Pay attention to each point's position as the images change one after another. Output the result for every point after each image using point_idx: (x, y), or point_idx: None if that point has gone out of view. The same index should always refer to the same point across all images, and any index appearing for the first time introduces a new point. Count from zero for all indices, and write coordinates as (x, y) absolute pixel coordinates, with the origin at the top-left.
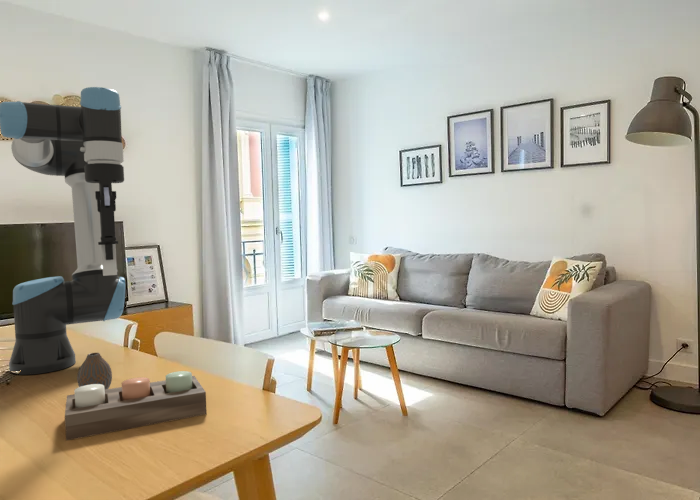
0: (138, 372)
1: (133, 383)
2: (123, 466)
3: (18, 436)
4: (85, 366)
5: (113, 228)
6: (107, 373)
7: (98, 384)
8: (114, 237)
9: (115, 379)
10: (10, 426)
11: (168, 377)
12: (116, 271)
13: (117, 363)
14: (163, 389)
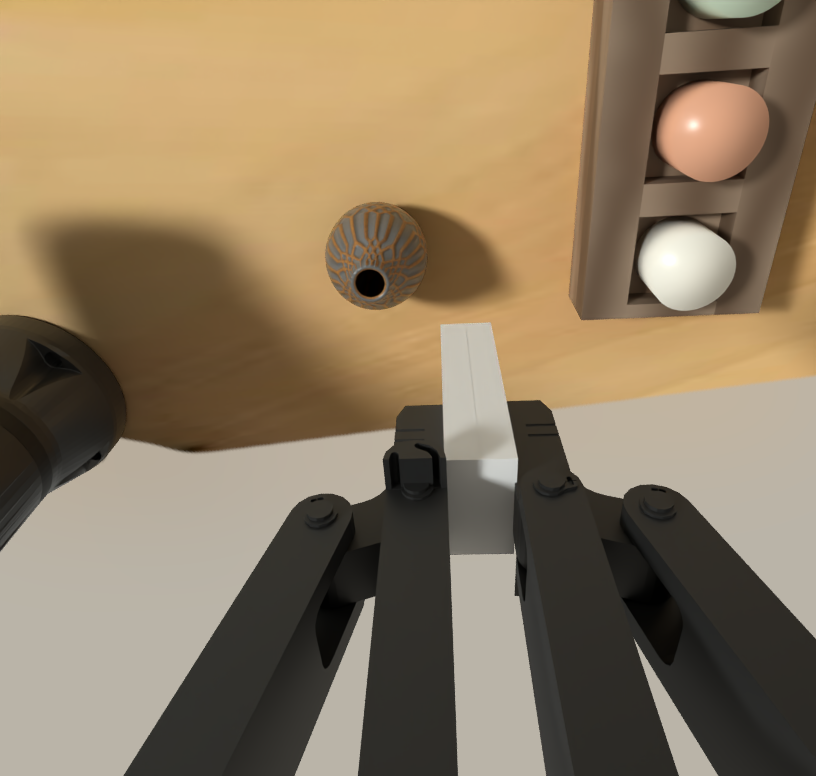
0: (190, 103)
1: (742, 143)
2: None
3: (629, 379)
4: (401, 295)
5: (775, 613)
6: (407, 221)
7: (671, 250)
8: (702, 520)
9: (255, 185)
10: (550, 401)
11: (762, 6)
12: (491, 336)
13: (38, 180)
14: (724, 29)
